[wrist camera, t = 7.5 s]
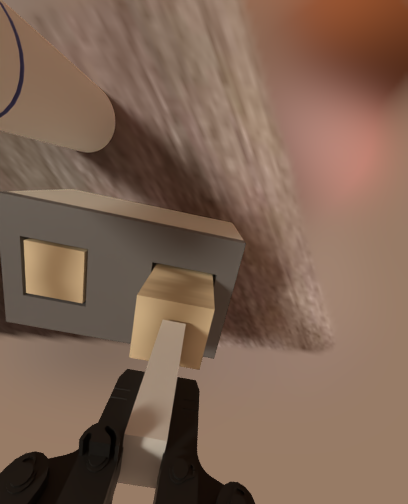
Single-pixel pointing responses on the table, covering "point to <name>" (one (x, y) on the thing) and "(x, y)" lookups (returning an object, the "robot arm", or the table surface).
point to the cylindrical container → (48, 91)
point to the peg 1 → (55, 270)
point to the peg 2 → (174, 311)
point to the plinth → (111, 258)
